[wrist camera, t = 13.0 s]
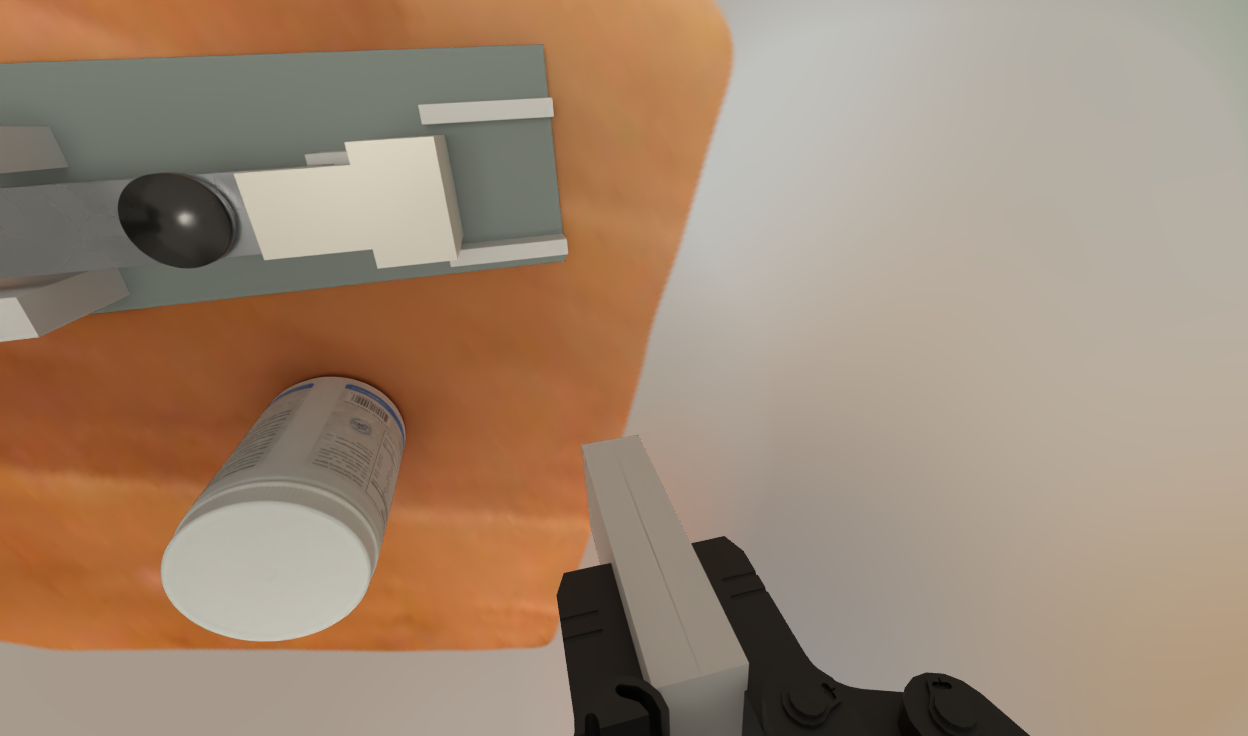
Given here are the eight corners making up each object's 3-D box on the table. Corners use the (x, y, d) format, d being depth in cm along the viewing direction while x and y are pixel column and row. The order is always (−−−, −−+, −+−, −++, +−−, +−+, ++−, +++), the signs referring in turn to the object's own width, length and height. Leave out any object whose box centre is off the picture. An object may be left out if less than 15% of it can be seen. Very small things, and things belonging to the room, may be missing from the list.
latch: (315, 249, 33) (271, 280, 26) (283, 145, 30) (224, 150, 23) (463, 234, 34) (457, 260, 28) (445, 134, 32) (433, 136, 25)
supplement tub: (280, 486, 40) (179, 660, 27) (253, 373, 36) (120, 512, 23) (415, 476, 42) (382, 631, 29) (403, 369, 38) (359, 492, 25)
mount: (61, 312, 32) (-69, 368, 25) (-73, 69, 26) (-293, 46, 19) (563, 257, 38) (582, 288, 30) (541, 47, 32) (556, 22, 25)
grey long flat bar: (-14, 279, 26) (-60, 293, 24) (-69, 187, 24) (-124, 193, 22) (355, 244, 29) (344, 253, 27) (332, 159, 27) (318, 162, 25)
